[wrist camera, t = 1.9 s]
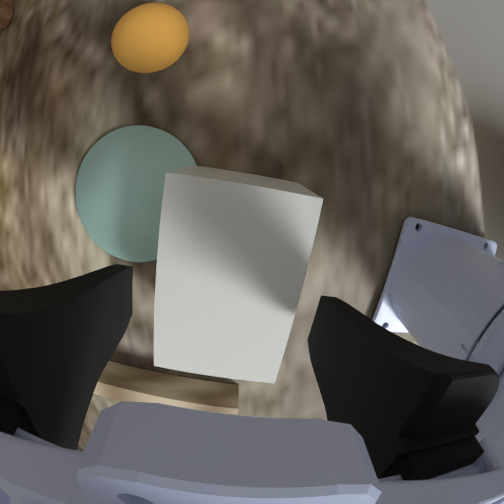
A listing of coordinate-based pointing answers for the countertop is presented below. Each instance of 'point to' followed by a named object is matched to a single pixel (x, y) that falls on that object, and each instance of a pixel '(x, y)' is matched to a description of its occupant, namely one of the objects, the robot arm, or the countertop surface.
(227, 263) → the white rectangular block
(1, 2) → the cupcake
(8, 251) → the countertop surface
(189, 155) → the pale blue curved piece
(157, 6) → the ball
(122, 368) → the strip
